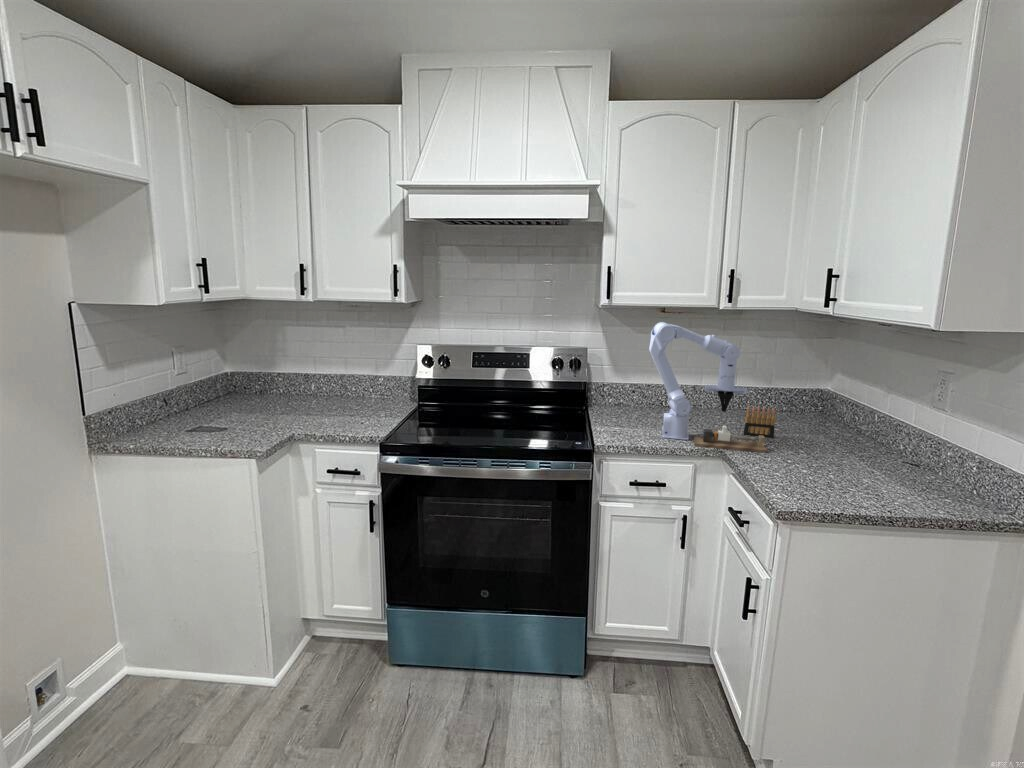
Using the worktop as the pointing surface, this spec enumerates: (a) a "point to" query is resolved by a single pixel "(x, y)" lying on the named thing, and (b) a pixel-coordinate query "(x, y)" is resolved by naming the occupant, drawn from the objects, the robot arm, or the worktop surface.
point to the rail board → (730, 442)
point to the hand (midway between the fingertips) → (723, 411)
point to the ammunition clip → (759, 423)
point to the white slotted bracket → (724, 434)
